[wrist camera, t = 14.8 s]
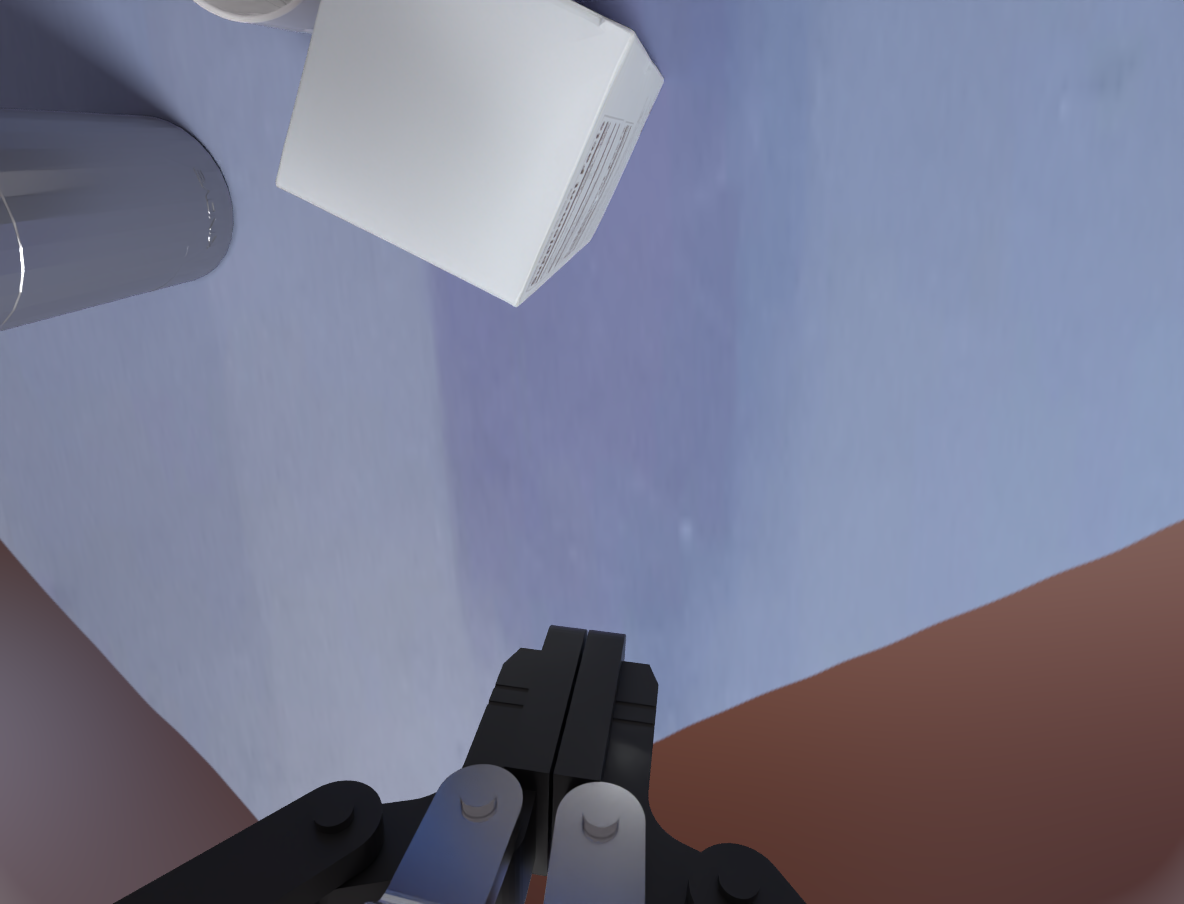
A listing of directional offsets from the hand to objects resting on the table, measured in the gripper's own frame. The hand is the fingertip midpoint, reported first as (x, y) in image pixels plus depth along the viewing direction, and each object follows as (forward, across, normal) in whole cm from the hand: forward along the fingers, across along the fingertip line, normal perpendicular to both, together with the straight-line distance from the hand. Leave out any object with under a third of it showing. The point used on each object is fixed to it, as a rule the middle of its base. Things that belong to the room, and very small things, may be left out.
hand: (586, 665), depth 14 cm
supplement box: (+29, +7, -10) cm, 32 cm away
